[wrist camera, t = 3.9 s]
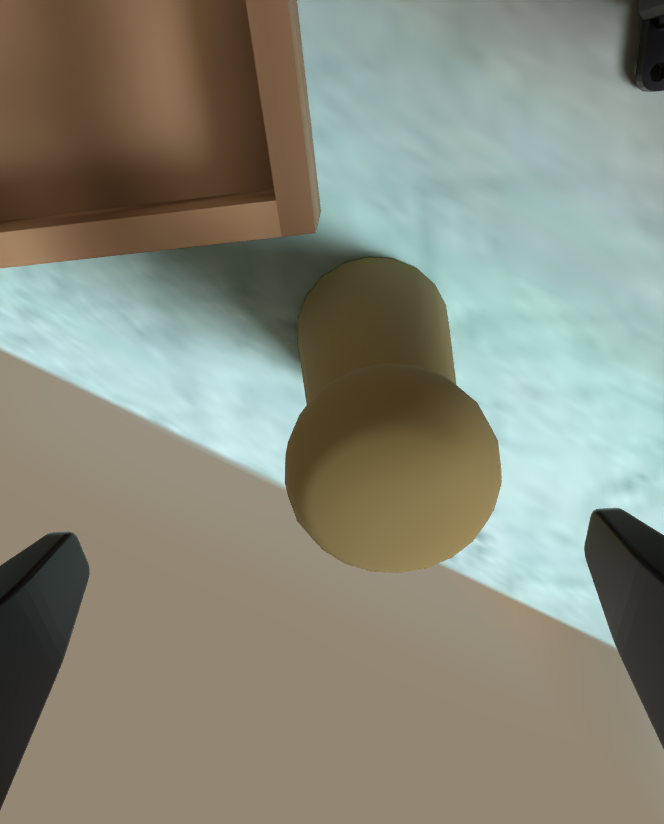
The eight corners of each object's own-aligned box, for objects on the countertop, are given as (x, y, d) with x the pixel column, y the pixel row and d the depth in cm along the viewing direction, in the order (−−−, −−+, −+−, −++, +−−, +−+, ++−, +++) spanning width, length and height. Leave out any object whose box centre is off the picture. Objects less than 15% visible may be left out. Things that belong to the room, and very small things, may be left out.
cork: (480, 308, 20) (602, 479, 11) (393, 423, 23) (428, 643, 13) (347, 224, 19) (352, 336, 9) (270, 357, 22) (212, 550, 12)
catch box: (261, -303, 13) (232, -457, 9) (320, 210, 19) (315, 232, 15) (-191, -220, 14) (-370, -332, 10) (0, 247, 20) (-74, 276, 16)
